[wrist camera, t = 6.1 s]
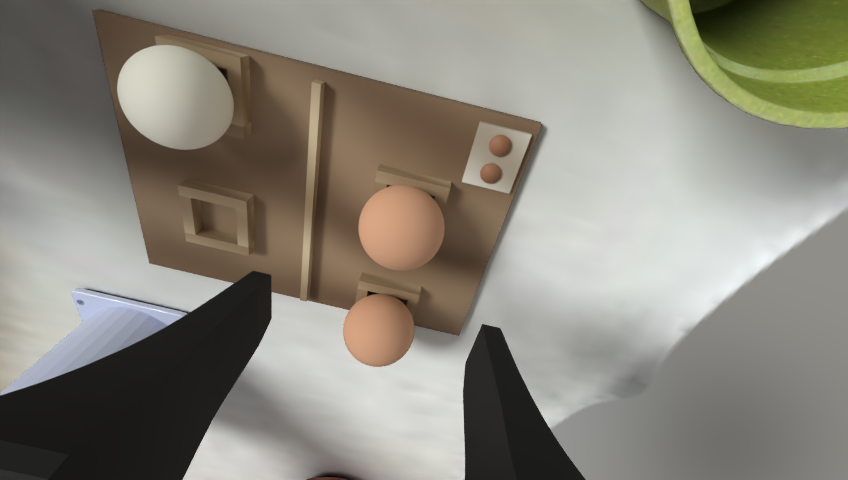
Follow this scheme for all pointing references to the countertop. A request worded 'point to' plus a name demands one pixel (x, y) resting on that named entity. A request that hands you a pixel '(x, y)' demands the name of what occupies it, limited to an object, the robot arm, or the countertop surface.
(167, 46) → the cream ball
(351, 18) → the countertop surface
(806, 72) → the plant pot
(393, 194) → the terracotta ball
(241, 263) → the board
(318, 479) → the fruit
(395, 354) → the terracotta ball
